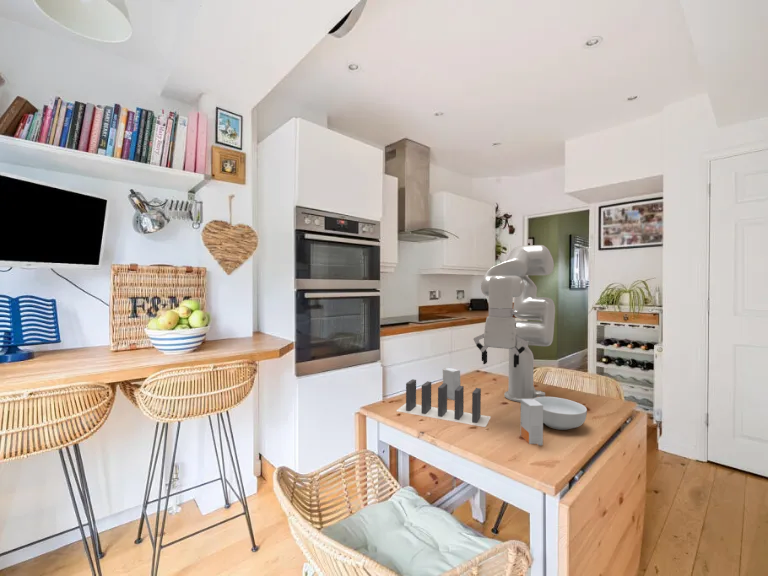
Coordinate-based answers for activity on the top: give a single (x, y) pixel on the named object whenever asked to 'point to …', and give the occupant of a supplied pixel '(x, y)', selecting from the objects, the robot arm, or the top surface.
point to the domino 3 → (442, 400)
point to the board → (446, 415)
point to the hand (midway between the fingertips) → (500, 364)
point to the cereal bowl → (562, 413)
